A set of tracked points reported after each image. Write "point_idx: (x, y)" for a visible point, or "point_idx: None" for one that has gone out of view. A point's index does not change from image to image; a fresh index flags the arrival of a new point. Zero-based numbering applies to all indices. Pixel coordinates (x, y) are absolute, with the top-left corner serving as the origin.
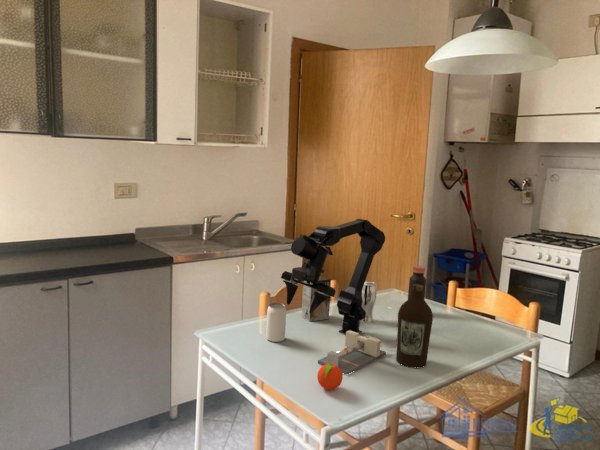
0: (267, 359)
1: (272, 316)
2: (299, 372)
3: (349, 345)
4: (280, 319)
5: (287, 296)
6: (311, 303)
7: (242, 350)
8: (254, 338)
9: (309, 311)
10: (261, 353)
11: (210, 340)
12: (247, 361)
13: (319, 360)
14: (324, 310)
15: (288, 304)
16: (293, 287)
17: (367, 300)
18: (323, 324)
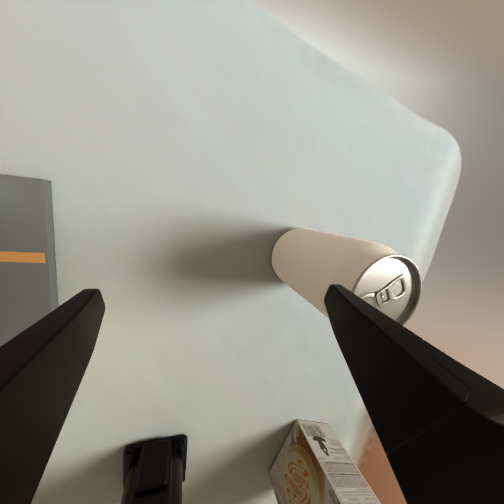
0: (219, 94)
1: (350, 240)
2: (40, 52)
3: None
4: (314, 261)
5: (389, 321)
6: (325, 483)
7: (320, 110)
8: (342, 215)
9: (91, 294)
10: (264, 128)
11: (420, 117)
12: (259, 33)
13: (37, 183)
14: (286, 491)
15: (327, 292)
16: (455, 473)
17: None
18: (256, 436)
